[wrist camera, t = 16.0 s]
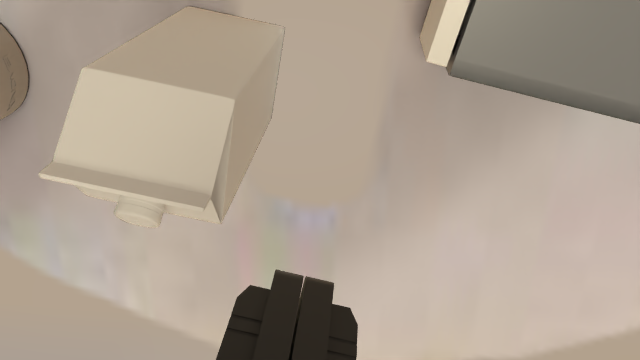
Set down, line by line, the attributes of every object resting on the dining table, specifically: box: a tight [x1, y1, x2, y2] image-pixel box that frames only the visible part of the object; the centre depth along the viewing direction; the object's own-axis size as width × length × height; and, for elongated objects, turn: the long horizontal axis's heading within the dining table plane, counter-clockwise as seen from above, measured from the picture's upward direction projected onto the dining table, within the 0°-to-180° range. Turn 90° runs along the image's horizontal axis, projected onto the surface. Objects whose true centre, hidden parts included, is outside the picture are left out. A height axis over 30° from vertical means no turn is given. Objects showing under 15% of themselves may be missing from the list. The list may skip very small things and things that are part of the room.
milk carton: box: [39, 6, 285, 228], centre depth 30 cm, size 7×7×19 cm
